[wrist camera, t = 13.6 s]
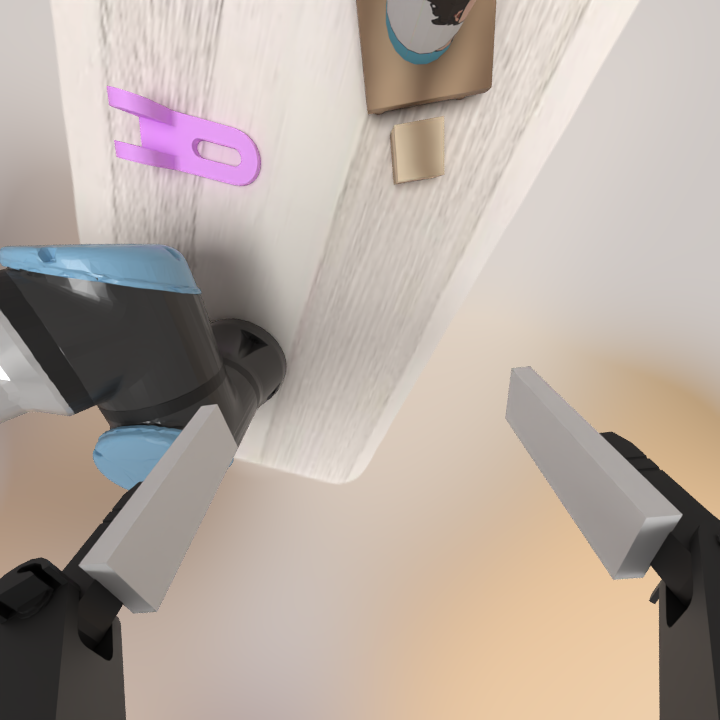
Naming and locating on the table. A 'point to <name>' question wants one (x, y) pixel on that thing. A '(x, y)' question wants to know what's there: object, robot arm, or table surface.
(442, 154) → the oak block
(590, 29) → the table surface
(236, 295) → the table surface
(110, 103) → the bracket
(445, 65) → the stand
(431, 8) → the printed can
